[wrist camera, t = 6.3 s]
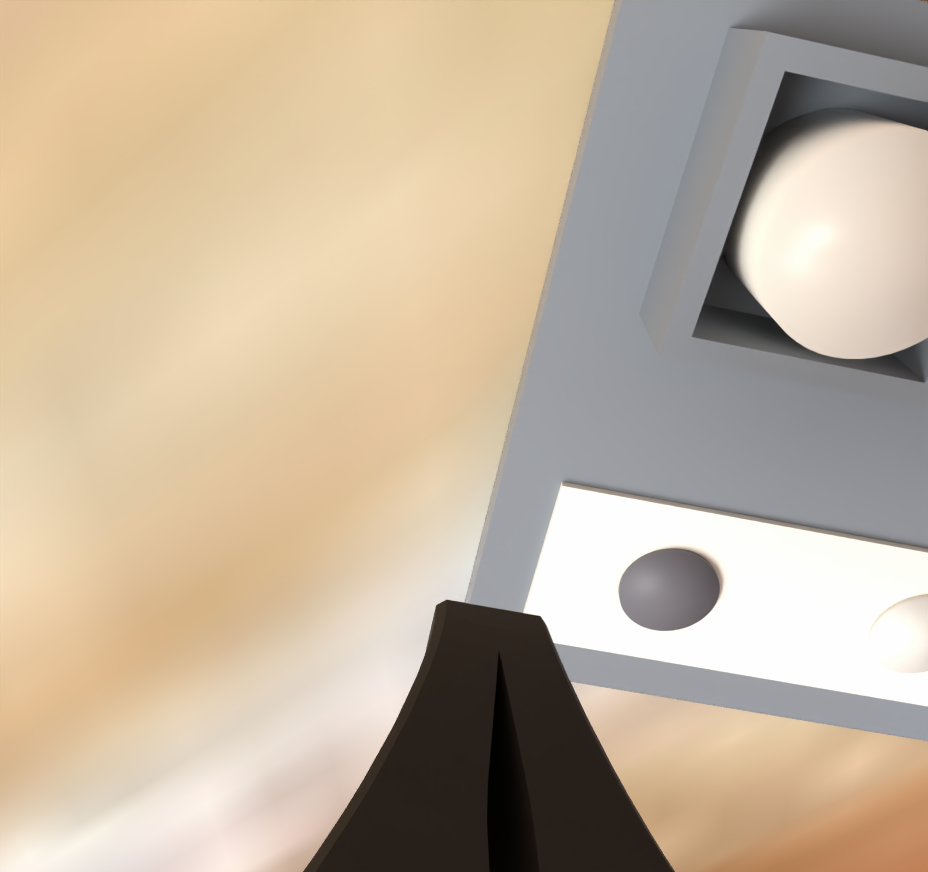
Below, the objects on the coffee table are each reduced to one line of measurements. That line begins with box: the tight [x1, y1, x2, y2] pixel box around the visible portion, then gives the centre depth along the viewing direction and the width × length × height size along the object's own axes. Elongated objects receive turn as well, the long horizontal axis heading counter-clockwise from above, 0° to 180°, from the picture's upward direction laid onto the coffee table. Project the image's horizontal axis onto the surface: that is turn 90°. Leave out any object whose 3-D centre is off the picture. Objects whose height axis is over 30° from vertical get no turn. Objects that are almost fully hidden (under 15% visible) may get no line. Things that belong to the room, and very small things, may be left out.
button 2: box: [722, 109, 928, 359], centre depth 15 cm, size 4×4×3 cm
